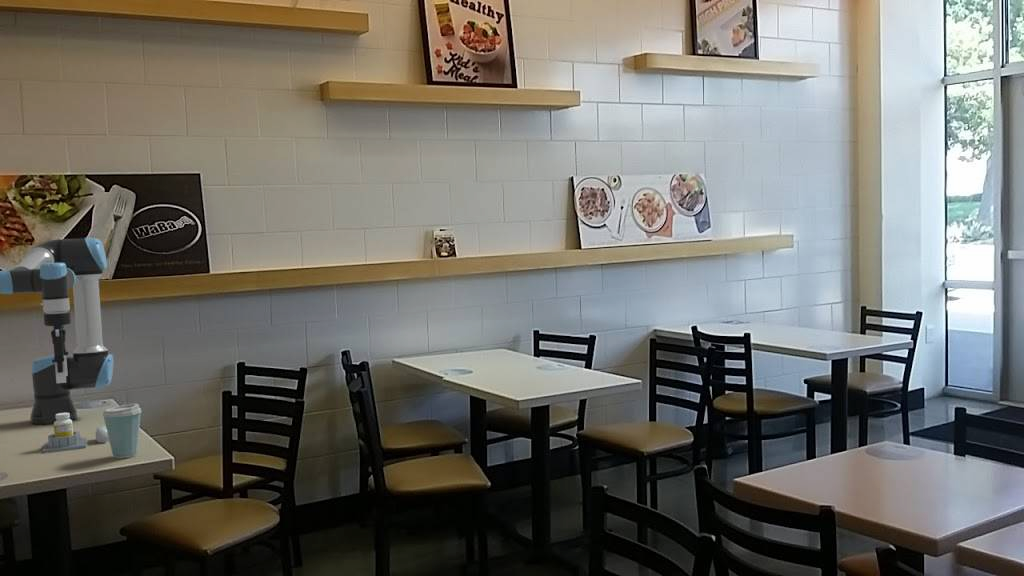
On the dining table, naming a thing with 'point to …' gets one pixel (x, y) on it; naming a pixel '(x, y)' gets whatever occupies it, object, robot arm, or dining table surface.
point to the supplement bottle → (63, 425)
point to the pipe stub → (102, 434)
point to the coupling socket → (64, 443)
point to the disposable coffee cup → (123, 429)
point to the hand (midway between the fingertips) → (62, 379)
